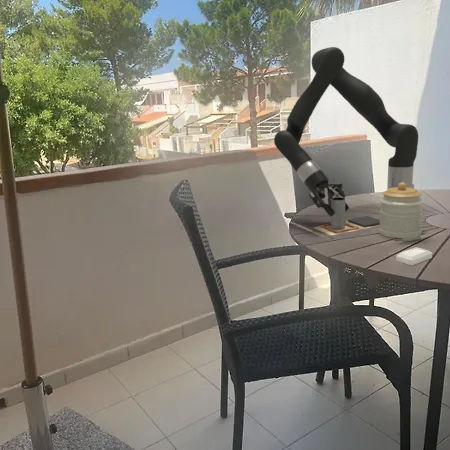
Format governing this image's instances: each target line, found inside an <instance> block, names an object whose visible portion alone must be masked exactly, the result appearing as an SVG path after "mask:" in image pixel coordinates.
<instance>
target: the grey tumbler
mask: <svg viewBox="0 0 450 450" xmlns="http://www.w3.org/2000/svg"><path fill="white" fill-rule="evenodd" d="M345 202H346V198H341V197H336V198H332V199H331V207H332V208H333V210H334V211H335V214H334V215H333V216H330V217H331V218H330V220H331V221H330V223H331V228H332V229H336V230H340V229H344V228H345V221H346V211H345Z"/></svg>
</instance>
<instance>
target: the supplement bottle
mask: <svg viewBox="0 0 450 450" xmlns="http://www.w3.org/2000/svg"><path fill="white" fill-rule="evenodd" d="M334 184H336V185H337V186H338V187H339V189H340V190H341V191H342V192H343V193H344V194H345V193H346V192H345V190H344V189H343V182H336V181H335V182H330V184H329V185H330V186H333V185H334ZM339 195H341V194H340V193H339ZM345 195H346V194H345ZM345 197H346V196H345ZM345 197H344V198H345ZM345 199H346V198H345ZM328 204H329V205H330V206H331V200H328Z"/></svg>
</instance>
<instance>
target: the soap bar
mask: <svg viewBox="0 0 450 450" xmlns="http://www.w3.org/2000/svg"><path fill="white" fill-rule="evenodd" d="M395 256H396V257H395V261H396V262H398V263H402V264H406V265H409V266H412V267H413V266H415V265H417V264H420V263H423V262H425V261H428V260H431V259H432V258H433V252H431V251H430V250H428V249H425V248H420V247H413V248H411V249H408V250H405V251H402V252H399V253H398V254H397V255H395Z"/></svg>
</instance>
